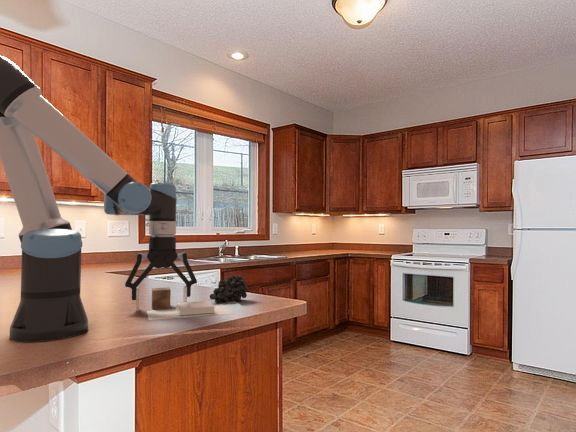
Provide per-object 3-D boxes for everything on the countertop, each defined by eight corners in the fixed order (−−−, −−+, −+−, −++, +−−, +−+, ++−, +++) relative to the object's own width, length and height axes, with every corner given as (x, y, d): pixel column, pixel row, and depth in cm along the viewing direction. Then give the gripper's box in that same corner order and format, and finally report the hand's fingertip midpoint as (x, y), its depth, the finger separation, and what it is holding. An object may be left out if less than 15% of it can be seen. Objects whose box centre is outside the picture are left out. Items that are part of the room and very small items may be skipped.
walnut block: (152, 311, 112) (152, 290, 112) (151, 308, 117) (151, 288, 117) (170, 310, 114) (170, 289, 114) (168, 307, 119) (169, 287, 119)
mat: (148, 322, 99) (148, 320, 99) (146, 312, 110) (146, 310, 110) (233, 315, 107) (233, 313, 107) (224, 307, 118) (224, 305, 118)
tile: (180, 308, 103) (214, 306, 106) (176, 302, 111) (208, 300, 115) (180, 316, 103) (214, 313, 106) (176, 309, 111) (208, 307, 115)
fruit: (214, 276, 120) (248, 271, 132) (198, 283, 124) (232, 277, 136) (221, 304, 118) (254, 296, 130) (204, 310, 123) (238, 302, 135)
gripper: (116, 236, 106) (114, 315, 105) (207, 236, 115) (206, 309, 114) (117, 236, 113) (115, 310, 112) (202, 235, 122) (202, 304, 121)
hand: (161, 309), depth 113 cm, fingers open, 12 cm apart
